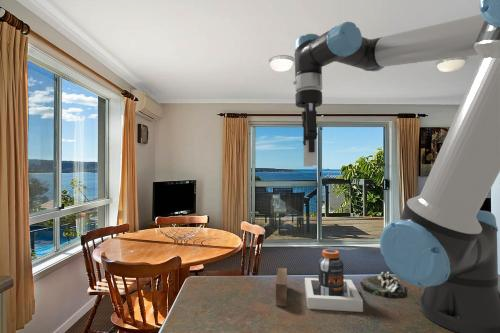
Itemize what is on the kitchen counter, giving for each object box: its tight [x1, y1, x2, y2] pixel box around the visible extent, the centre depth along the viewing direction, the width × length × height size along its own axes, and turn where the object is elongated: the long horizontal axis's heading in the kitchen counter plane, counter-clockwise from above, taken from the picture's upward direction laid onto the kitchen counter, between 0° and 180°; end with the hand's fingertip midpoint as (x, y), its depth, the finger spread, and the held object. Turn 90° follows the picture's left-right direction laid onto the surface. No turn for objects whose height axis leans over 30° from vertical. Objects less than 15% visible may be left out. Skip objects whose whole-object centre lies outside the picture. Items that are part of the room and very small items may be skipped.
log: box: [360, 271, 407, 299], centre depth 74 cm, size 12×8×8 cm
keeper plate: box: [304, 277, 364, 313], centre depth 68 cm, size 12×12×2 cm
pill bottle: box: [318, 248, 345, 297], centre depth 69 cm, size 6×6×11 cm
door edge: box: [275, 267, 288, 307], centre depth 70 cm, size 2×11×5 cm, turn 172°
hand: (309, 166), depth 79 cm, fingers open, 13 cm apart
